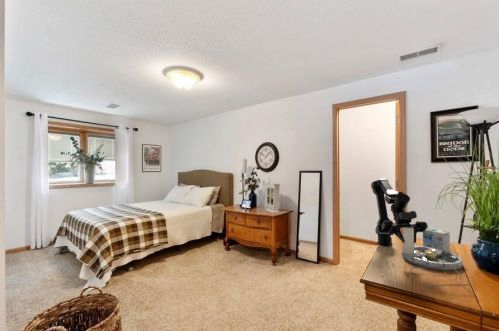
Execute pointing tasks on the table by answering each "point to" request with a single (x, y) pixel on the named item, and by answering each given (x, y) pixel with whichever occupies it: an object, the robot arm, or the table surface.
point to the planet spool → (408, 242)
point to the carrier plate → (435, 259)
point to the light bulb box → (436, 239)
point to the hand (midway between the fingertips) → (409, 242)
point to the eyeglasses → (445, 272)
